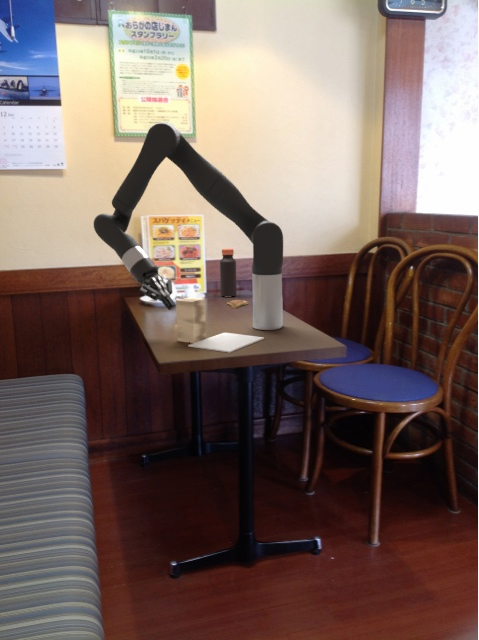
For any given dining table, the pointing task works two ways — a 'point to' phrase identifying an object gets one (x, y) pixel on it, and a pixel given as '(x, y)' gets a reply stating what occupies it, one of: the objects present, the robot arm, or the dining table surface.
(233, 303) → the shard
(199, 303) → the wooden block
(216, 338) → the mat
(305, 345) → the dining table surface
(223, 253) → the bottle
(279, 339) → the dining table surface
